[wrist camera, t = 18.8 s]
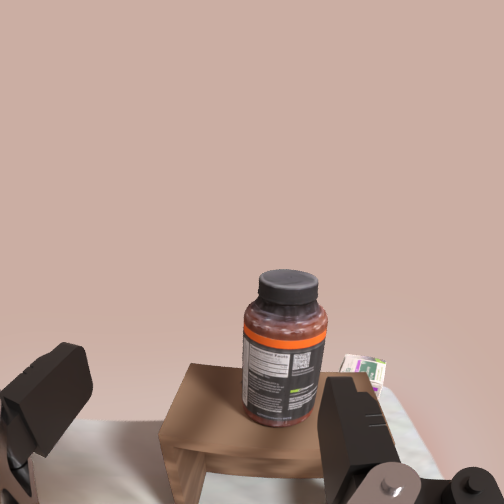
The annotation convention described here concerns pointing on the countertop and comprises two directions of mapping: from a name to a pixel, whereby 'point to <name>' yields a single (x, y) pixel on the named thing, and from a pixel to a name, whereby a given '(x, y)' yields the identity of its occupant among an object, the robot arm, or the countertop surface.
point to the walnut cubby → (235, 433)
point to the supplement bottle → (283, 348)
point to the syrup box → (366, 369)
